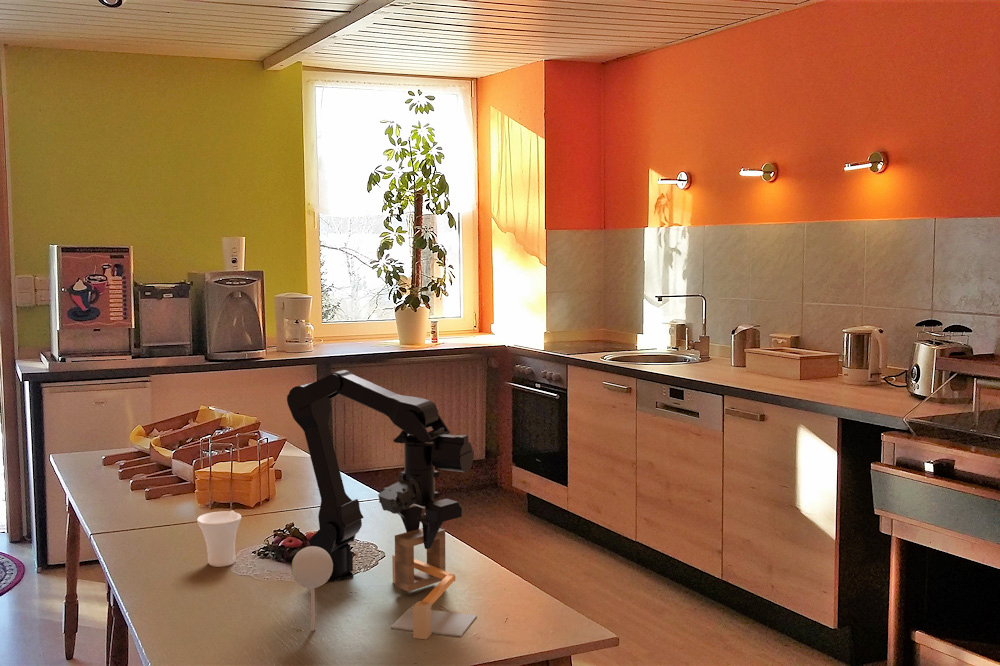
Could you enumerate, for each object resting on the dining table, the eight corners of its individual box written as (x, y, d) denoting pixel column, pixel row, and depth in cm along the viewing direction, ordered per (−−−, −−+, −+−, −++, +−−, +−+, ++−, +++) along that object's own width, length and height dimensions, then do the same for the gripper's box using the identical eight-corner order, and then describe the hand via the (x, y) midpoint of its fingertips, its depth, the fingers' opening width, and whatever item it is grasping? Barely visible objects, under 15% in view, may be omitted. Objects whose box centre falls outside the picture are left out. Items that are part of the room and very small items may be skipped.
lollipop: (295, 622, 176) (293, 541, 174) (335, 621, 177) (334, 540, 175) (290, 639, 169) (288, 554, 167) (332, 638, 170) (330, 553, 168)
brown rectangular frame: (395, 586, 189) (394, 535, 188) (432, 574, 196) (431, 525, 195) (408, 591, 187) (407, 540, 185) (445, 579, 193) (445, 529, 192)
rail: (417, 641, 168) (417, 609, 168) (358, 587, 193) (357, 560, 192) (485, 626, 175) (485, 595, 174) (420, 576, 199) (419, 549, 199)
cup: (252, 558, 210) (251, 512, 209) (222, 572, 201) (221, 524, 200) (219, 552, 214) (218, 507, 212) (189, 565, 205) (187, 519, 204)
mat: (409, 608, 182) (409, 607, 182) (476, 616, 179) (476, 615, 179) (390, 628, 174) (390, 626, 174) (461, 636, 170) (461, 635, 170)
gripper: (355, 465, 190) (357, 544, 192) (417, 483, 176) (418, 568, 178) (401, 455, 197) (402, 531, 199) (464, 472, 184) (464, 554, 186)
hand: (420, 545), depth 190 cm, fingers closed on brown rectangular frame, 4 cm apart
